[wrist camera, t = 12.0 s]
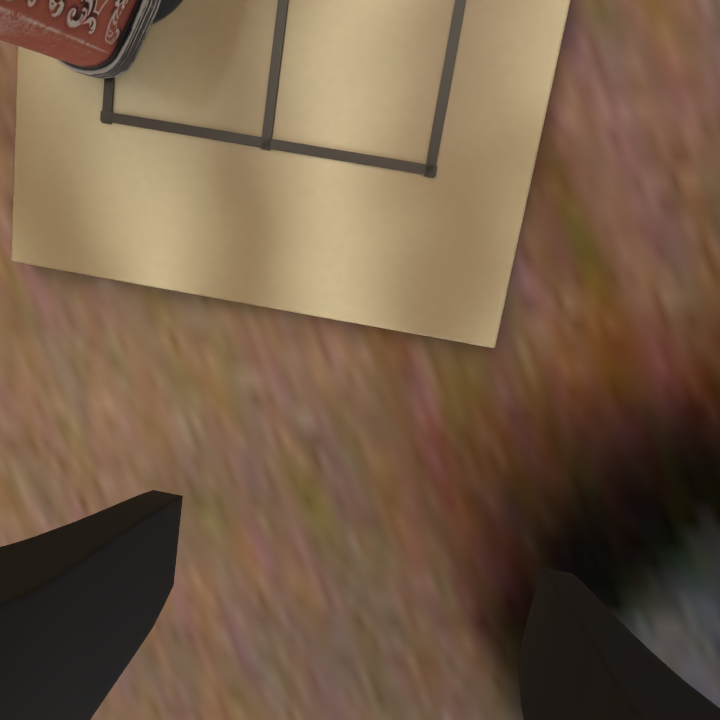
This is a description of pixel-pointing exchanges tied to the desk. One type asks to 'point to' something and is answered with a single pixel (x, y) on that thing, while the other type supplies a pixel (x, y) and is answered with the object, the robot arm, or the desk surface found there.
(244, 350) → the desk surface
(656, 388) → the desk surface
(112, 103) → the grid board
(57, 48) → the lighter
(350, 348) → the desk surface
